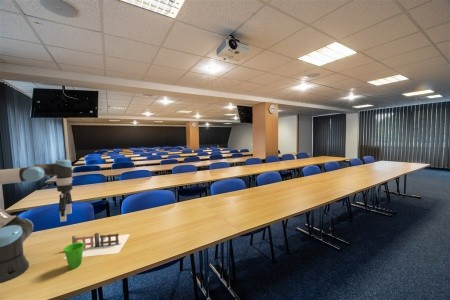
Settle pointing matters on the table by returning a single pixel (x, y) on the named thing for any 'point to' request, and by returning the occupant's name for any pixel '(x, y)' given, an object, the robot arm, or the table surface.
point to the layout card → (104, 246)
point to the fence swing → (75, 240)
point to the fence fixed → (105, 241)
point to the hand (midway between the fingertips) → (66, 217)
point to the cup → (74, 254)
